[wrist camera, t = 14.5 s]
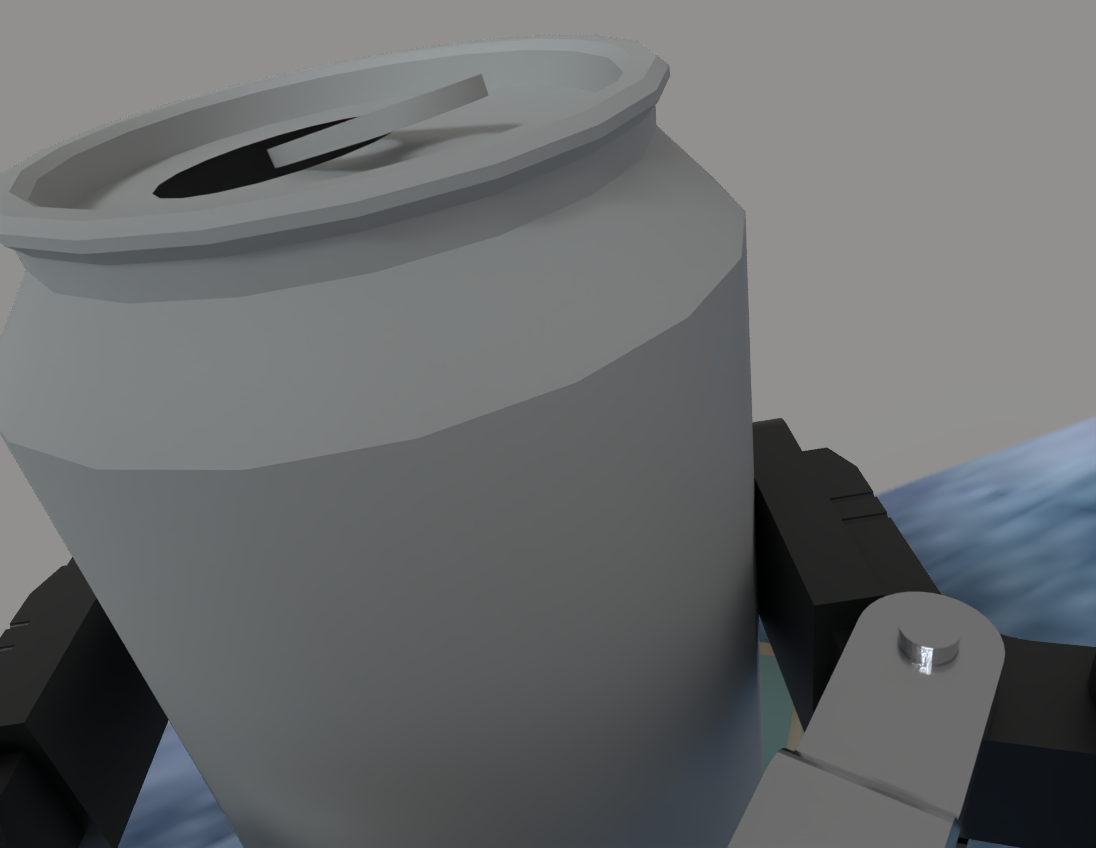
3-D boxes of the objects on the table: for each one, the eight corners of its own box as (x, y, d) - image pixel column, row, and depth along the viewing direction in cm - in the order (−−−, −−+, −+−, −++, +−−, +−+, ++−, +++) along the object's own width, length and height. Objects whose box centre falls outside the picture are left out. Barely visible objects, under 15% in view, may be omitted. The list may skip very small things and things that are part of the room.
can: (516, 614, 19) (374, 20, 12) (849, 782, 14) (892, -19, 8) (222, 896, 14) (-235, 186, 8) (573, 1275, 10) (153, 320, 3)
